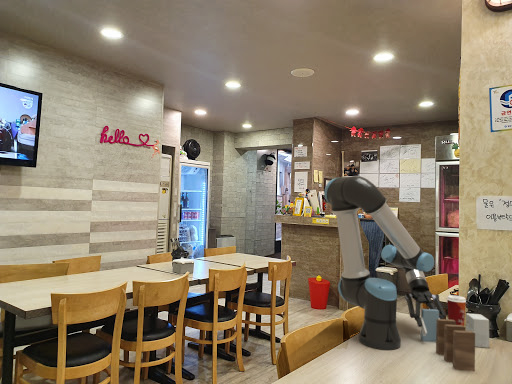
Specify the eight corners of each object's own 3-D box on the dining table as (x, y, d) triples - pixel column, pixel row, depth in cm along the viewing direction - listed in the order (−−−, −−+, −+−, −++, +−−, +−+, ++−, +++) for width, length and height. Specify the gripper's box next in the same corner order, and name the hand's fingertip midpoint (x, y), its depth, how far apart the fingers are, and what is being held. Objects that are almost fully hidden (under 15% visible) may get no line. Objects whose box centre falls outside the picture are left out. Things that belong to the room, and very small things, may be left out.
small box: (489, 348, 139) (489, 320, 140) (473, 346, 140) (473, 318, 141) (481, 340, 147) (481, 314, 147) (465, 339, 148) (466, 312, 149)
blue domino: (420, 339, 146) (421, 308, 147) (436, 340, 146) (436, 309, 147) (423, 341, 144) (423, 310, 145) (438, 341, 144) (439, 310, 145)
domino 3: (452, 367, 121) (453, 330, 122) (471, 368, 121) (471, 331, 122) (455, 369, 119) (456, 332, 120) (474, 370, 119) (475, 333, 120)
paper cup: (465, 334, 154) (466, 300, 155) (445, 330, 159) (445, 297, 159) (466, 328, 161) (467, 296, 162) (446, 325, 165) (447, 293, 166)
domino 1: (435, 352, 133) (436, 319, 134) (452, 353, 133) (453, 319, 134) (438, 354, 131) (439, 320, 132) (455, 355, 131) (456, 321, 132)
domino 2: (444, 359, 127) (444, 324, 128) (461, 360, 127) (462, 325, 128) (446, 362, 125) (447, 326, 126) (464, 362, 125) (465, 327, 126)
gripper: (436, 288, 161) (455, 340, 144) (392, 286, 161) (406, 338, 145) (442, 278, 156) (462, 331, 139) (397, 277, 156) (411, 329, 139)
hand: (433, 334), depth 142 cm, fingers closed on blue domino, 6 cm apart
